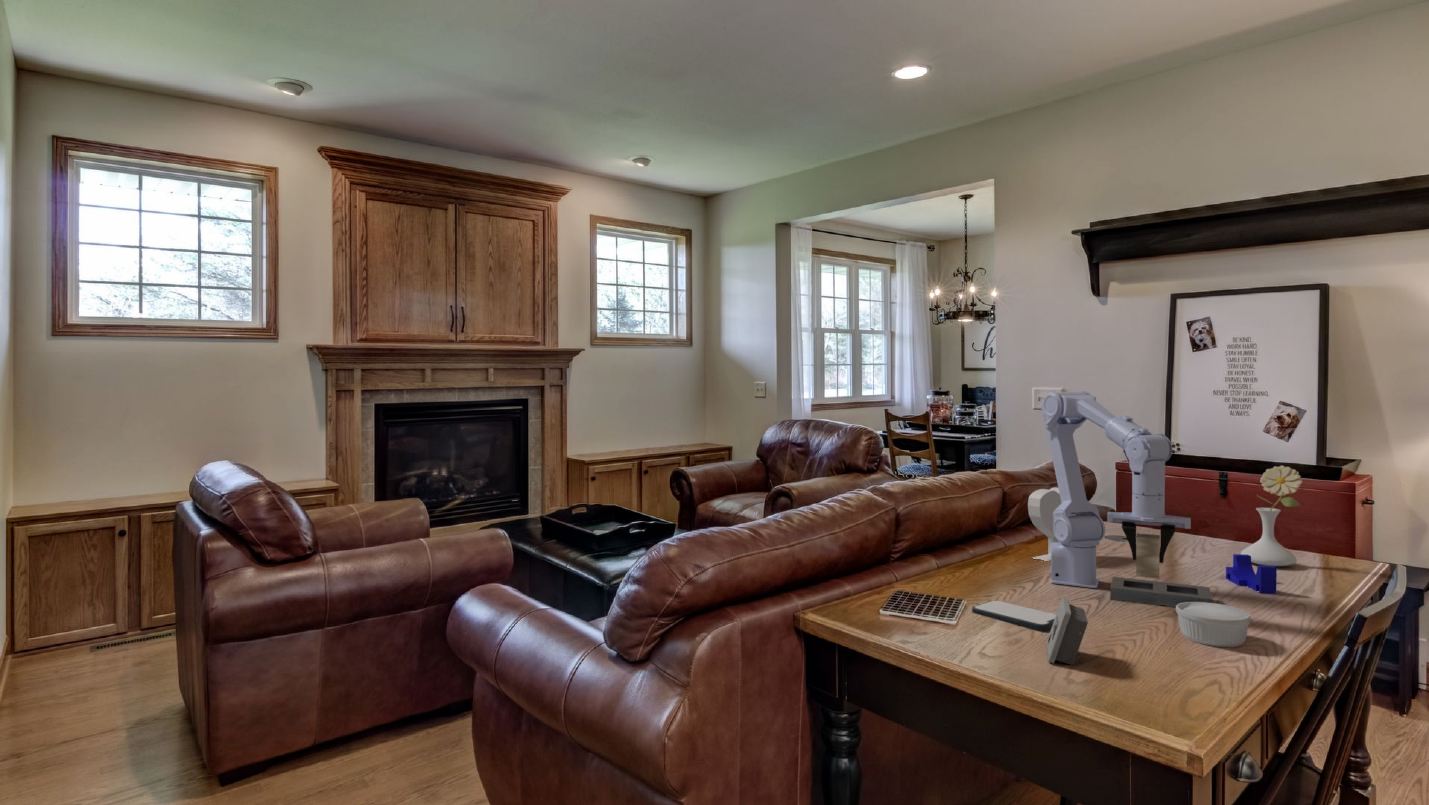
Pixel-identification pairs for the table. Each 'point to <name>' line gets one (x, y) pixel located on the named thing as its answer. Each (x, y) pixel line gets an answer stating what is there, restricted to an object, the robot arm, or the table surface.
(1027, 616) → the phone case
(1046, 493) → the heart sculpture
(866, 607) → the table surface
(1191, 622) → the ramekin
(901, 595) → the table surface
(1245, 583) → the cable clip
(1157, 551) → the peg
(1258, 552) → the flower in vase
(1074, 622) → the electrical switch
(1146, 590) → the grey slotted board
